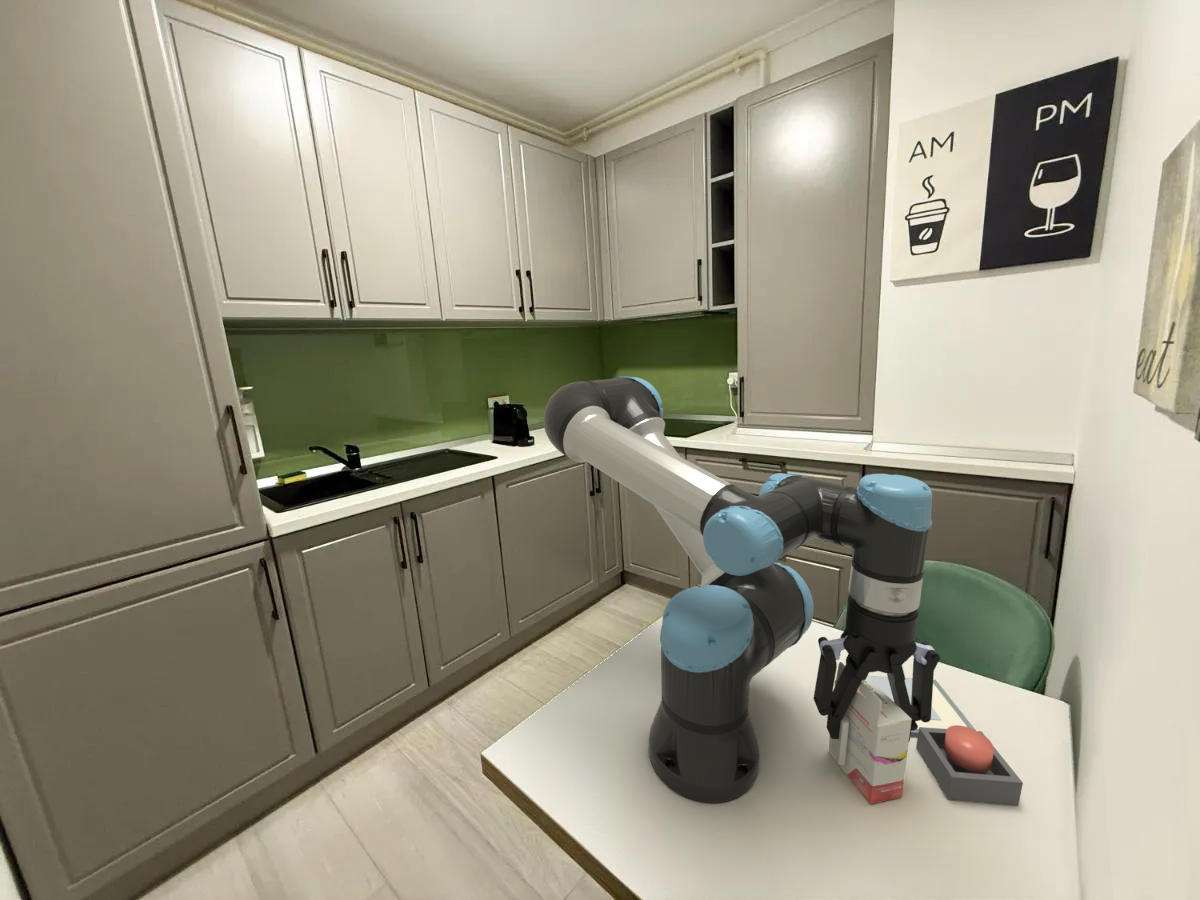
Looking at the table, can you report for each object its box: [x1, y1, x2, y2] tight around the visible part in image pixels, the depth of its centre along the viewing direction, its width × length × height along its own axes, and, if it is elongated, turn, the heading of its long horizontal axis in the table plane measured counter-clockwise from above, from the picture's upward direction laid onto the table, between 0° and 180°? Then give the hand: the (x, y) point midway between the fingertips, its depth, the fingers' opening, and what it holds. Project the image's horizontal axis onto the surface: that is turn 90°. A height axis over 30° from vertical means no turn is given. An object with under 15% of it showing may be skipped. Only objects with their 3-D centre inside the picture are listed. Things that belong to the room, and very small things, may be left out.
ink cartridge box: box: [828, 661, 912, 805], centre depth 64 cm, size 9×5×15 cm, turn 10°
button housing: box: [915, 727, 1024, 807], centre depth 64 cm, size 8×8×4 cm
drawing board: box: [867, 675, 976, 738], centre depth 76 cm, size 15×12×1 cm
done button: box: [944, 725, 995, 773], centre depth 64 cm, size 5×5×2 cm
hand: (864, 758), depth 65 cm, fingers closed on ink cartridge box, 6 cm apart
